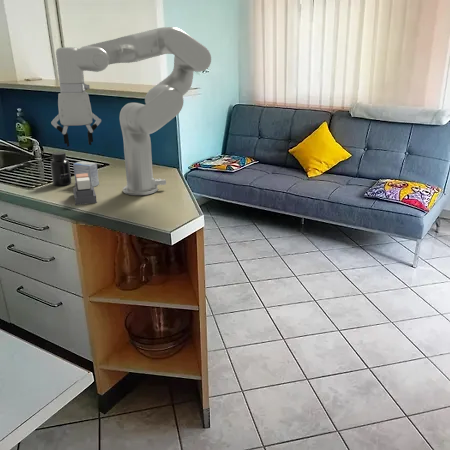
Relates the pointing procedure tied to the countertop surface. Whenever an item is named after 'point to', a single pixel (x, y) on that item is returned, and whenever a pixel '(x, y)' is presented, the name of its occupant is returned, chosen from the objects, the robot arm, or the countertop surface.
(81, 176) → the terracotta key
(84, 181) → the ivory key
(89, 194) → the key panel
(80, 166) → the medicine box
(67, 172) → the supplement bottle
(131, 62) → the robot arm
